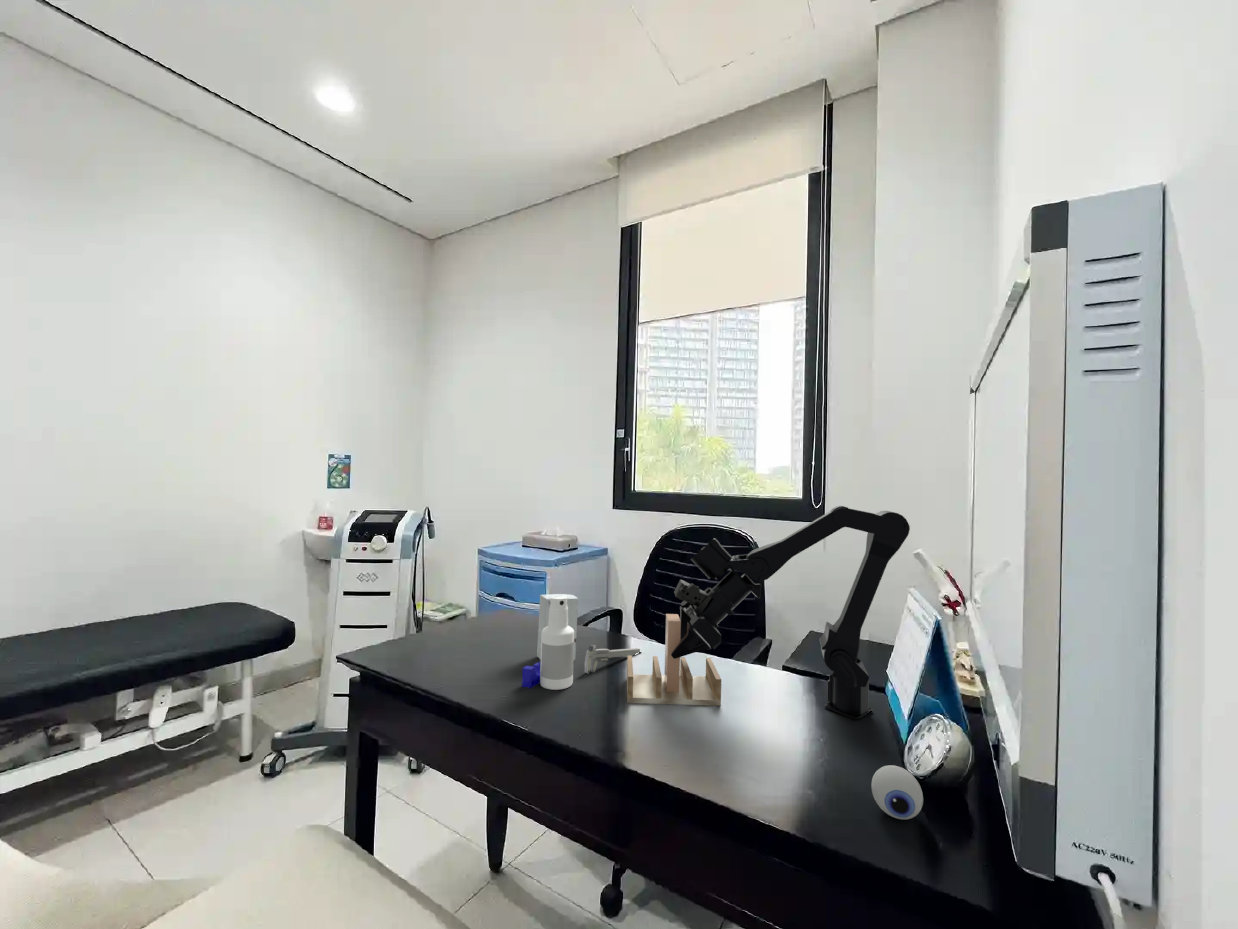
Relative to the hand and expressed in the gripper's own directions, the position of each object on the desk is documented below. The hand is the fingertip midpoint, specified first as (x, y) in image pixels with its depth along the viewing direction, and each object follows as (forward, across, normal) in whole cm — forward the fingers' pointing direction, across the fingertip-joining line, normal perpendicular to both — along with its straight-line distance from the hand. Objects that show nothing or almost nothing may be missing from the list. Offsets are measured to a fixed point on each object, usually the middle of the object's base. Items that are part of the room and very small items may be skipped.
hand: (670, 649), depth 106 cm
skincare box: (+24, -17, -12) cm, 32 cm away
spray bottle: (+23, -2, -10) cm, 25 cm away
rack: (+6, 0, +6) cm, 9 cm away
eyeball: (-12, +37, +25) cm, 47 cm away
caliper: (+14, -16, -2) cm, 21 cm away
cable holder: (+26, -4, -14) cm, 30 cm away
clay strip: (+5, 0, +6) cm, 8 cm away
